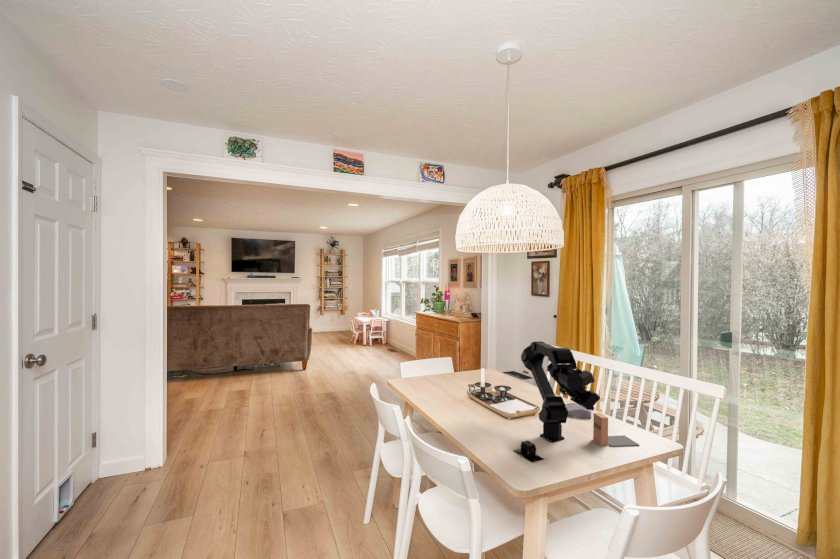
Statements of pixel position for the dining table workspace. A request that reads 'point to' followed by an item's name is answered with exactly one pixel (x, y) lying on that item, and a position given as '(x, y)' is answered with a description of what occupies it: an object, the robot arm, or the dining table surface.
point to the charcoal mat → (620, 441)
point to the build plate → (528, 451)
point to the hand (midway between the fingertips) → (593, 409)
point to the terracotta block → (600, 429)
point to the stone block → (578, 411)
